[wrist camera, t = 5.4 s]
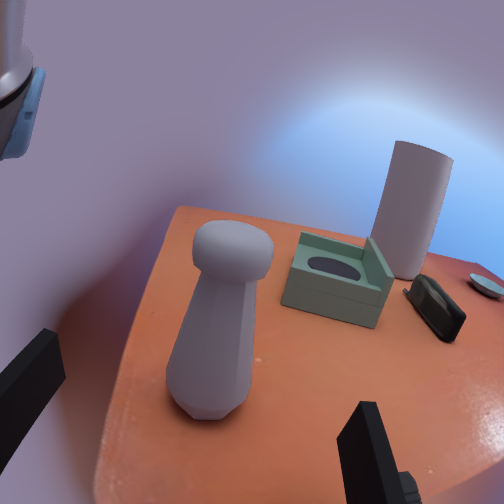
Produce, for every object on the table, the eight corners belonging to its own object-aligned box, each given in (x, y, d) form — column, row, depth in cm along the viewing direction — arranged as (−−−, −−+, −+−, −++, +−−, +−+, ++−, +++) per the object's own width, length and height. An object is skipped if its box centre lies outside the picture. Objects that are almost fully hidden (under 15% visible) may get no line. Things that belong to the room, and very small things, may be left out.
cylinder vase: (426, 286, 54) (464, 163, 46) (372, 273, 54) (410, 140, 46) (404, 263, 66) (435, 159, 58) (357, 251, 66) (387, 140, 58)
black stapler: (471, 314, 33) (423, 267, 47) (457, 312, 32) (409, 264, 46) (455, 345, 34) (412, 293, 48) (440, 344, 34) (398, 291, 48)
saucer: (463, 277, 67) (466, 269, 66) (498, 292, 62) (501, 284, 62) (470, 291, 57) (473, 282, 56) (508, 307, 52) (512, 299, 52)
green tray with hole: (280, 304, 37) (295, 250, 35) (294, 257, 54) (304, 219, 51) (374, 329, 35) (395, 277, 33) (360, 275, 52) (372, 238, 50)
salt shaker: (203, 444, 17) (241, 256, 12) (148, 392, 20) (159, 214, 16) (259, 404, 21) (310, 239, 17) (205, 364, 24) (234, 209, 20)
